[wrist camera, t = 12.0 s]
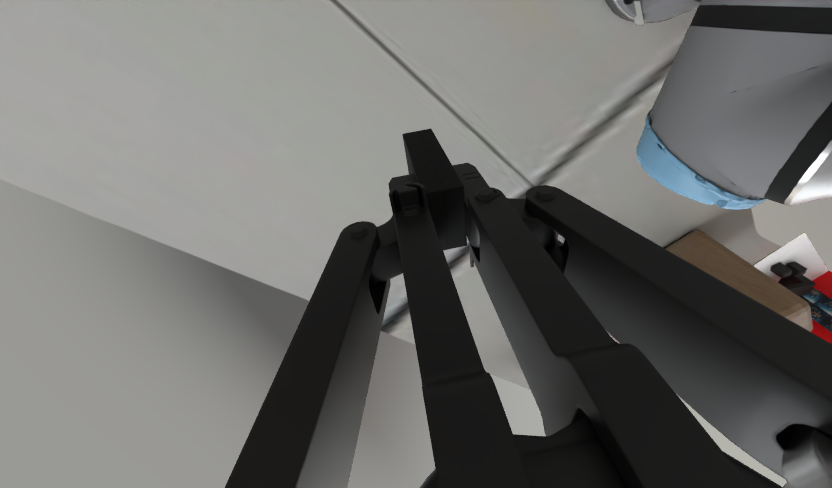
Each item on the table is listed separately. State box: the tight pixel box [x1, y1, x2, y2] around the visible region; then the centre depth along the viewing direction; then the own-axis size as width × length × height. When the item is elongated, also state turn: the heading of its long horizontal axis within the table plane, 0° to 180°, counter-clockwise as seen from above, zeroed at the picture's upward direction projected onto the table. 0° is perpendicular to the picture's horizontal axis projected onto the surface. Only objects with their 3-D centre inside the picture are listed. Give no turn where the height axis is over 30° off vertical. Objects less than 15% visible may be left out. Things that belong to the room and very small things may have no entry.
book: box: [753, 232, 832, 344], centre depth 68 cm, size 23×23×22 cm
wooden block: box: [665, 230, 813, 332], centre depth 58 cm, size 10×10×20 cm
